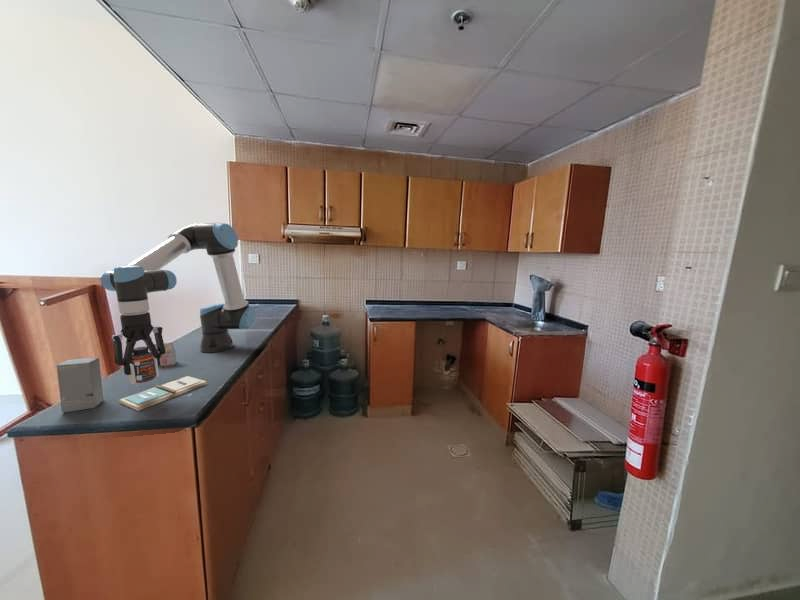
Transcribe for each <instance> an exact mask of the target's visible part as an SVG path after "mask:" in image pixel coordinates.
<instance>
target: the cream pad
mask: <svg viewBox="0 0 800 600" xmlns="http://www.w3.org/2000/svg"><path fill="white" fill-rule="evenodd" d="M184 377H185V378H183V377H181V378H182V379H180V378H178V379H179V380H177V379H176V380H177V381H175V380H173V381H174V382H172V381H170V382H171V383H169V382H167V383H168V384H166V383H164V384H165V385H163V384H161V385H162V386H163V387H165V388H168V389H171V390H174V391H177V390H180V389H183V388H185V387H188V386H191V385H193V384H196V383H199V382H201V381H200V380H201V379H200V380H197V379H198V378H197V379H193V378H190V377H191V376H190V377H186V376H184Z"/></svg>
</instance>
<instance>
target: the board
mask: <svg viewBox="0 0 800 600" xmlns="http://www.w3.org/2000/svg"><path fill="white" fill-rule="evenodd" d="M185 377H190V378H193V379H197V380H200V381H201V382H199V383H196V384H193V385H191V386H188V387H185V388H183V389H180V390H177V391H174V390H171V389H168V388H165V387H163V386H162V385H165V384H168V383H171V382H174V381H177V380H179V379H182V378H185ZM207 384H208V383H207V381H206V380H203V379H200V378H197V377H192V376H190V375H187V376H183V377H180V378H178V379H176V380H175V379H174V380H172V381H170V382H166V383H163V384H161V385H159V384H156V385H154V387H151V388H149V389H146V390H143V391H140V392H137V393H135V394H131V395H129V396H127V397H123V398H120V399H118V402H119V404H121V405H123V406H126V407H128V408H130V409H133V410H135V411H138V412H139V411H141V410H144V409H147V408H149V407H151V406H154V405H157V404H159V403H162V402H164V401H167V400H170V399H172V398H174V397H178V396H180V395H182V394H184V393H188V392H190V391H193V390H196V389H198V388H201V387H203V386H206V385H207ZM154 388H157V389H160V390H163V391H166V392H169V394H167V395H164V396H162V397H159V398H156V399H154V400H151V401H148V402H146V403H143V404H140V405H137V404H135V403H133V402H130V401H128V400H125V398H128V397H131V396H134V395H136V394H139V393H142V392H145V391H148V390H151V389H154Z"/></svg>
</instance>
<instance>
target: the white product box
mask: <svg viewBox="0 0 800 600" xmlns="http://www.w3.org/2000/svg"><path fill="white" fill-rule="evenodd" d="M153 344H154V345H155V347H156V349H157V345H156V343H153ZM164 347H165V352H166V353H165V354H163V355H161V357H160V366H158V368H160V367H169V366H174V365H175V364H176V363H177V362H178V361H177V355H176V350H175V347H174V344H173V342H164ZM157 351H158V350H157Z"/></svg>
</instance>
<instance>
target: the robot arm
mask: <svg viewBox="0 0 800 600" xmlns="http://www.w3.org/2000/svg"><path fill="white" fill-rule="evenodd" d="M238 242H239V237H238V233H237V232H236V230H235V228H234V227H233V226H232V225H230V224H229V223H221V222H208V223H207V222H203V223H192V224H188V225H186V226H183V227H182V228H179V229H178V230H175V231H174V232H173V233H171V234H170V235H168V237H167V240H165V241H163V242H161V243H160V244H158V245H157V246H155V247H153V248H152V249H150V250H149V251H147V252H146V253H144V254H142V255H141V256H139V257H137V258H136V259H134V260H133V261H131V262H130V263H127V264H126V265H125V266H123V265H121V266H120V265H119V266H116V267H114V268H113V269H112V270H108V271H105V272H104V273H102V275H101V277H100V283H101V286H102V287H103V288H104V289H105V290H107V291H109V292H116V299H117V305H118V312H119V314H121V315H120V316H119V317H120V324H121V329H120V332H119V333H117V334H112V335H110V339H111V341H112V343H113V344H112V345H113V356H114V364H115V365H116V366H120V367H123V373H124V375H126V376H127V377H128V382H129V384H132V385H135V384H136V385H137V383H136V378H135V371H134V365H133V364H131V359H132V355H133V350H134V348H135V346H136V343H137V342H139V341H143V342H144V344H145V346H146V347H148V350H149V351H148V352H150V353H152V354H153V361H154V368H155V378H158V377H160V372H159V367H161V366H160V357H161V355H163V354H165V353H166V352H165V347H164V343H165V342H164V339H163V326H158V325H157V326H153V325H152V319H151V313H150V312H149V311H150V306H149V297H148V294H149V293H155V292H156V293H157V292H166V291H169V290H172V289H174V288H175V287H176V285H177V276H176V275H175V273H174V272H173V271H171V270H169V269H162V268H164V267H166V265H168V264H169V263H171V262H173V261H174V260H175V259H177V258H178V257H180V256H181V255H183V254H187V253H190V252H191V251H193V250H194V251H195V250H206V254H207V255H208V256H209V257H211V258H212V261H213V264H214V268H215V271H216V275H217V278H218V283H219V284H220V288H221V293H222V297H223V299H224V302H225V303H217V304H210V305H205V306H203V307H201V308H200V309H199V317H200V326H201V334H202V337H201V341H200V345H199V350H200V352H201V351H202V352H201V353H216V352H217V351H218V352H222V351H226V350H229V349H231V348H233V347H234V340H233V339H232V337H231V335H230V333H229V330H241V331H242V330H249V329H251V328H252V327H253V326H254V324H255V321H256V319H257V318H256V317H257V311H256V308H255V307H253V306H251V305H250V304H249V301H248V300H246V299H245V298H244V293H243V290H242V286H241V285H242V284H241V282H240V277H239V273H238V270H237V265H236V263H235V259H234V258H235V257H234V253H235V252H236V248H237V247H238V245H239V243H238ZM152 332H153V334H154V335H153V336H154V339H155V343H154V342H153V339H152V337H151V334H152ZM123 337H124V338H125V339H126V342H125V345H126V346H125V350H124V352H123V343H122V340H123ZM154 344H156V345H157V349H156V347H155V345H154ZM157 350H158V351H157ZM158 366H159V367H158Z"/></svg>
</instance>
